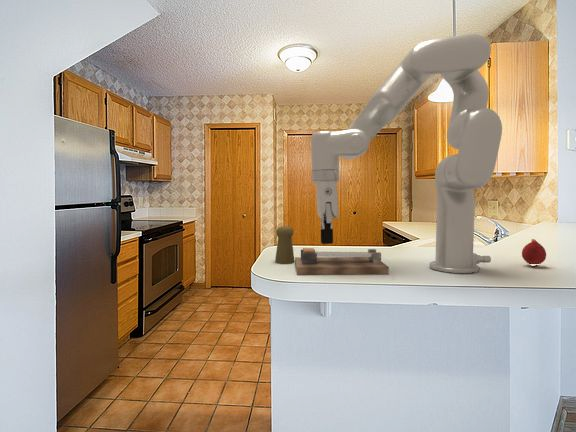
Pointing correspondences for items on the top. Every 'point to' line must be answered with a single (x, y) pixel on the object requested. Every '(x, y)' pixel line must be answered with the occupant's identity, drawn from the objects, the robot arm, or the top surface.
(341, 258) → the board
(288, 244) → the pepper mill
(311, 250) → the hinged lever bar
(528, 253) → the onion
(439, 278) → the top surface
